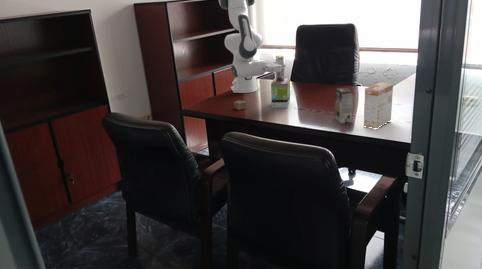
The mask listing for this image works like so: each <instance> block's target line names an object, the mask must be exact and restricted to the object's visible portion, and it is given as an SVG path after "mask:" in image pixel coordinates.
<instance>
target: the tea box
mask: <svg viewBox="0 0 482 269" xmlns="http://www.w3.org/2000/svg"><path fill="white" fill-rule="evenodd" d="M270 87H271V88H270V93H271V99H270V100H271V104H270V106H271V108H275V109H283V108H284V109H287V108H288V107H289V105H290V102H291V79H290V78H287V77H286V78H285V80H284V81H276V77H275V78H273V80H272V82H271V84H270Z"/></svg>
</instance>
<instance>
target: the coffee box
mask: <svg viewBox="0 0 482 269" xmlns="http://www.w3.org/2000/svg"><path fill="white" fill-rule="evenodd" d="M334 97H335V104H334V106H335V107H334V108H335V114H334V117H335V120H337V121H338V123H340V124H346V123H345V122H350V123H353V108H354V91H352V90H351V89H349V87H338V88H335V96H334Z"/></svg>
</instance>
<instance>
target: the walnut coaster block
mask: <svg viewBox="0 0 482 269" xmlns="http://www.w3.org/2000/svg"><path fill="white" fill-rule="evenodd" d="M233 104H234V106H233V107H234V110H235V109H236V110H238V111H241V110H245V109H247V101H244V100H237V101H234V102H233Z"/></svg>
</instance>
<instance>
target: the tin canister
mask: <svg viewBox="0 0 482 269" xmlns="http://www.w3.org/2000/svg"><path fill="white" fill-rule="evenodd" d="M285 56H286V55H275V62H276V64H279V65H282V64H285V58H286V57H285ZM285 68H286V67H285ZM285 68H282V69H281V71H280V72H275V78H276V81H284V80H285Z"/></svg>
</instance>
